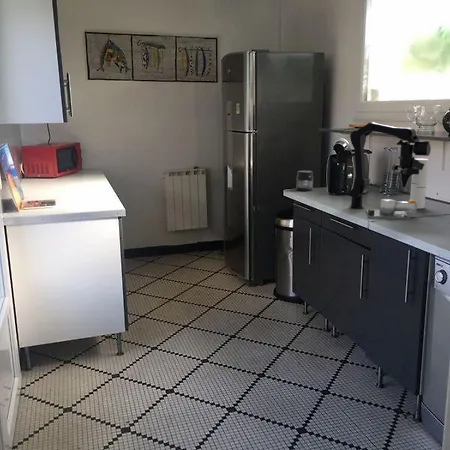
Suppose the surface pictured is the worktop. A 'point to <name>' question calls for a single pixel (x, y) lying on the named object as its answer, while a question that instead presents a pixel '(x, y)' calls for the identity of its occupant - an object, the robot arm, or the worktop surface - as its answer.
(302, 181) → the supplement container
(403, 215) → the flange
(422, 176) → the cylindrical container
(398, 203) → the collar
